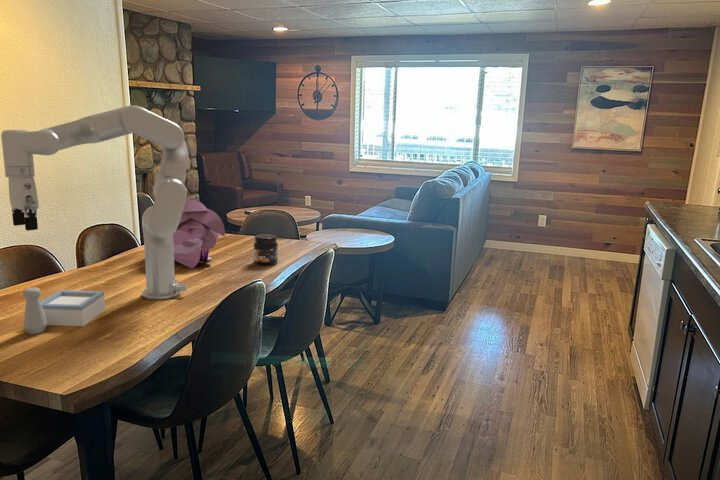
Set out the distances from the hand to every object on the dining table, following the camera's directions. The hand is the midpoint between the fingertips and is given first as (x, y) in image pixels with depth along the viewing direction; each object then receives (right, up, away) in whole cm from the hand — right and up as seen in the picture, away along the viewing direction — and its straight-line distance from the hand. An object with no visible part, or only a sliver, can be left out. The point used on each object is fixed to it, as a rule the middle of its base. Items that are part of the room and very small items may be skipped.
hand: (25, 227), depth 164 cm
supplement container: (+62, -14, +70) cm, 94 cm away
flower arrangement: (+28, -13, +69) cm, 75 cm away
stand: (+14, -28, +1) cm, 31 cm away
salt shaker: (+10, -31, -10) cm, 34 cm away
